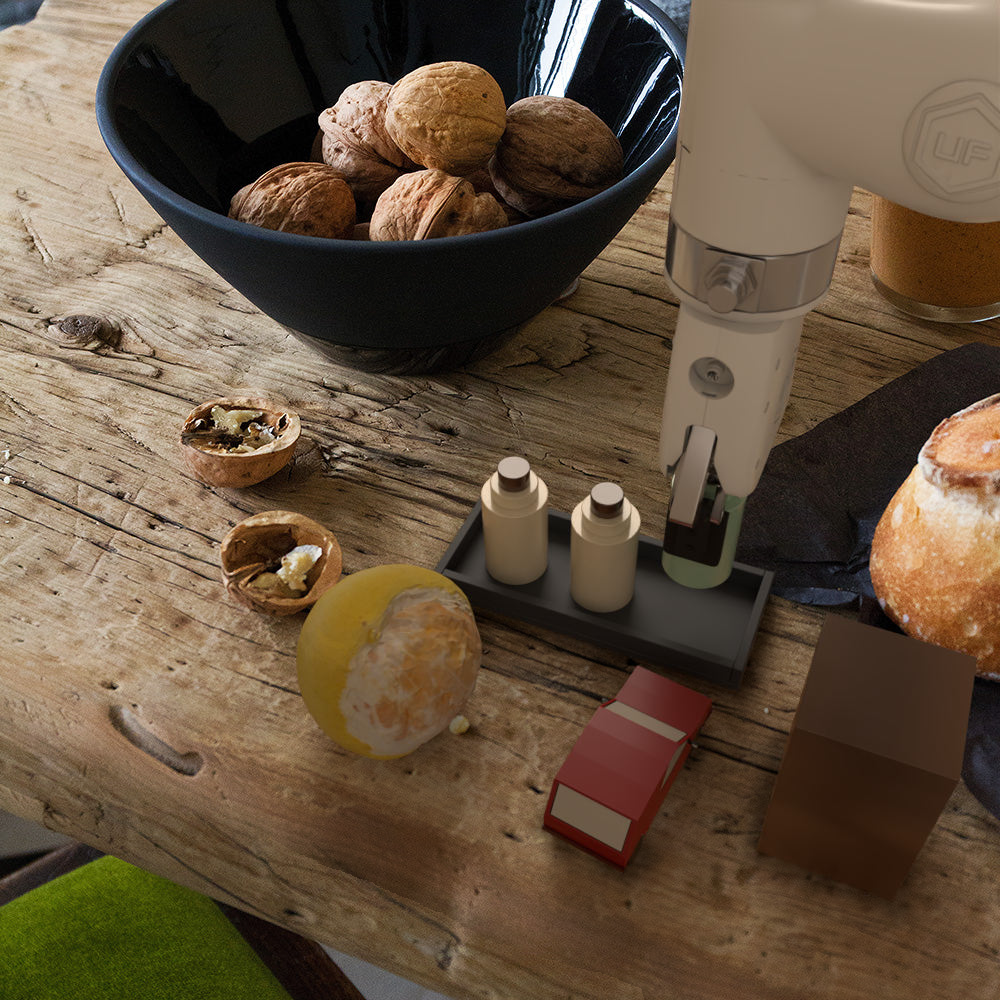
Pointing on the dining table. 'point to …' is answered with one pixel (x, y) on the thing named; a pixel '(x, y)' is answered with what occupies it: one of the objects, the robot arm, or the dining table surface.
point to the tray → (638, 625)
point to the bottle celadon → (712, 576)
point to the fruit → (388, 659)
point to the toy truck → (625, 767)
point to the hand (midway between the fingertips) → (703, 524)
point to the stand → (869, 755)
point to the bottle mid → (604, 549)
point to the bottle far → (515, 523)
